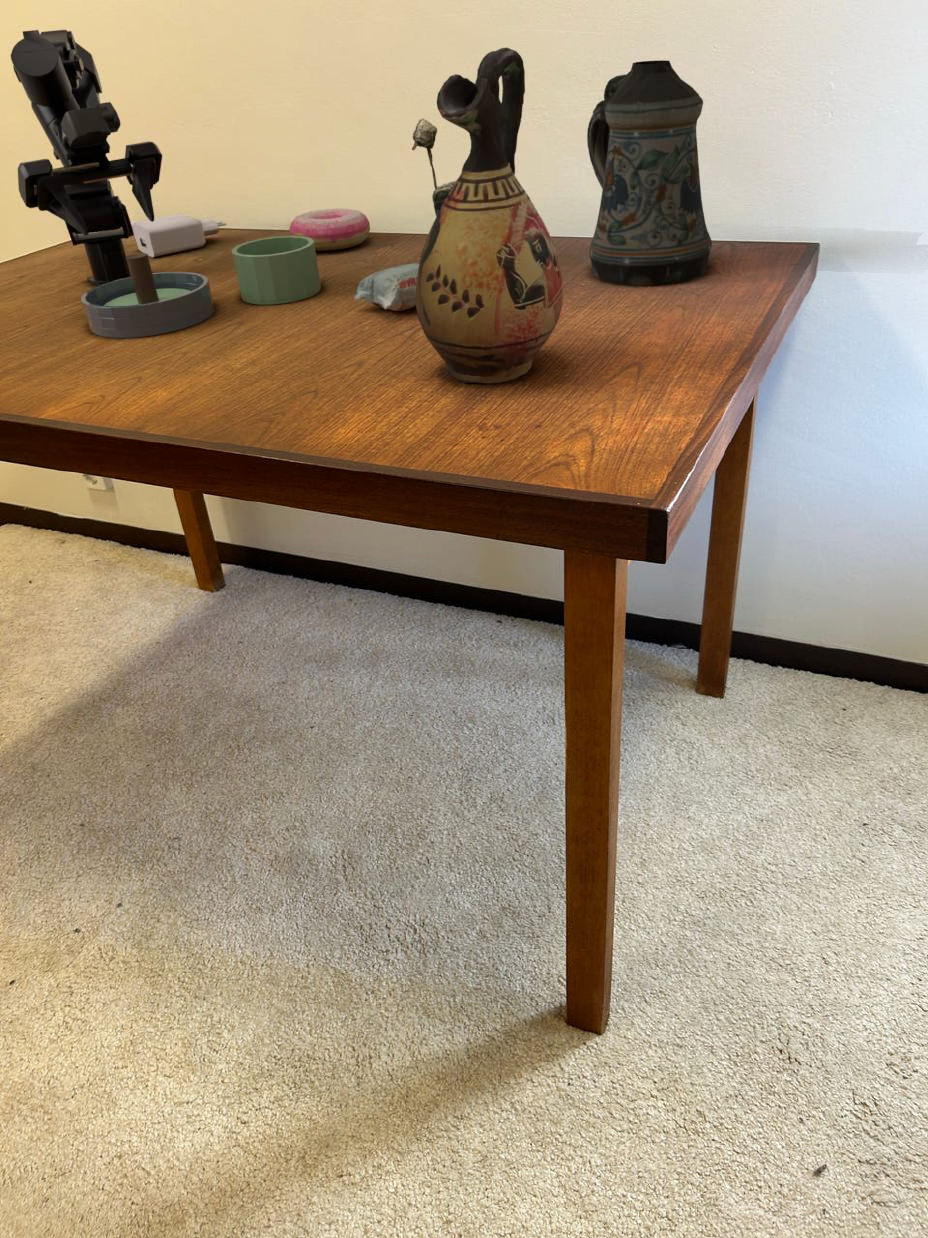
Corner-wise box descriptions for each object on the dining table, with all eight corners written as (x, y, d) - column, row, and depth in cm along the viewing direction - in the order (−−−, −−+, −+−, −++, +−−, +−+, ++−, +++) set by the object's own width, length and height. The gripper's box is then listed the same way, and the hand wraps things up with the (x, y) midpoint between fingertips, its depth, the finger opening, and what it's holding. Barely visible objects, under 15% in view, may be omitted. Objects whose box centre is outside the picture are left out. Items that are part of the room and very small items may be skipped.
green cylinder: (228, 294, 137) (218, 248, 133) (296, 277, 142) (288, 232, 139) (264, 309, 129) (255, 260, 126) (335, 290, 135) (328, 242, 131)
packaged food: (462, 301, 125) (459, 263, 122) (387, 323, 120) (382, 283, 117) (426, 290, 131) (422, 253, 128) (353, 310, 126) (347, 272, 123)
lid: (104, 305, 133) (89, 252, 129) (193, 291, 136) (180, 239, 132) (104, 329, 123) (87, 273, 119) (199, 313, 126) (186, 258, 122)
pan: (73, 321, 132) (64, 292, 130) (184, 293, 140) (177, 265, 137) (116, 346, 120) (107, 315, 118) (234, 314, 128) (228, 284, 126)
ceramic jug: (521, 404, 94) (505, 58, 77) (396, 384, 102) (357, 64, 85) (594, 349, 106) (595, 37, 89) (477, 335, 113) (457, 44, 96)
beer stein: (686, 290, 122) (699, 67, 108) (550, 280, 130) (545, 73, 116) (725, 257, 133) (741, 52, 119) (598, 250, 142) (599, 58, 128)
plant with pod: (464, 278, 135) (452, 122, 123) (409, 268, 141) (393, 119, 130) (501, 264, 139) (493, 112, 128) (446, 256, 146) (434, 110, 135)
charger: (237, 241, 166) (154, 258, 160) (217, 233, 173) (138, 250, 166) (231, 212, 163) (147, 229, 157) (212, 206, 170) (130, 221, 164)
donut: (367, 252, 152) (363, 219, 149) (285, 258, 153) (280, 225, 150) (375, 232, 163) (371, 202, 160) (299, 238, 164) (294, 208, 161)
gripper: (-7, 91, 116) (51, 198, 114) (137, 72, 124) (192, 171, 123) (-2, 157, 125) (51, 255, 124) (131, 135, 134) (182, 227, 133)
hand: (120, 226), depth 126 cm, fingers open, 9 cm apart
